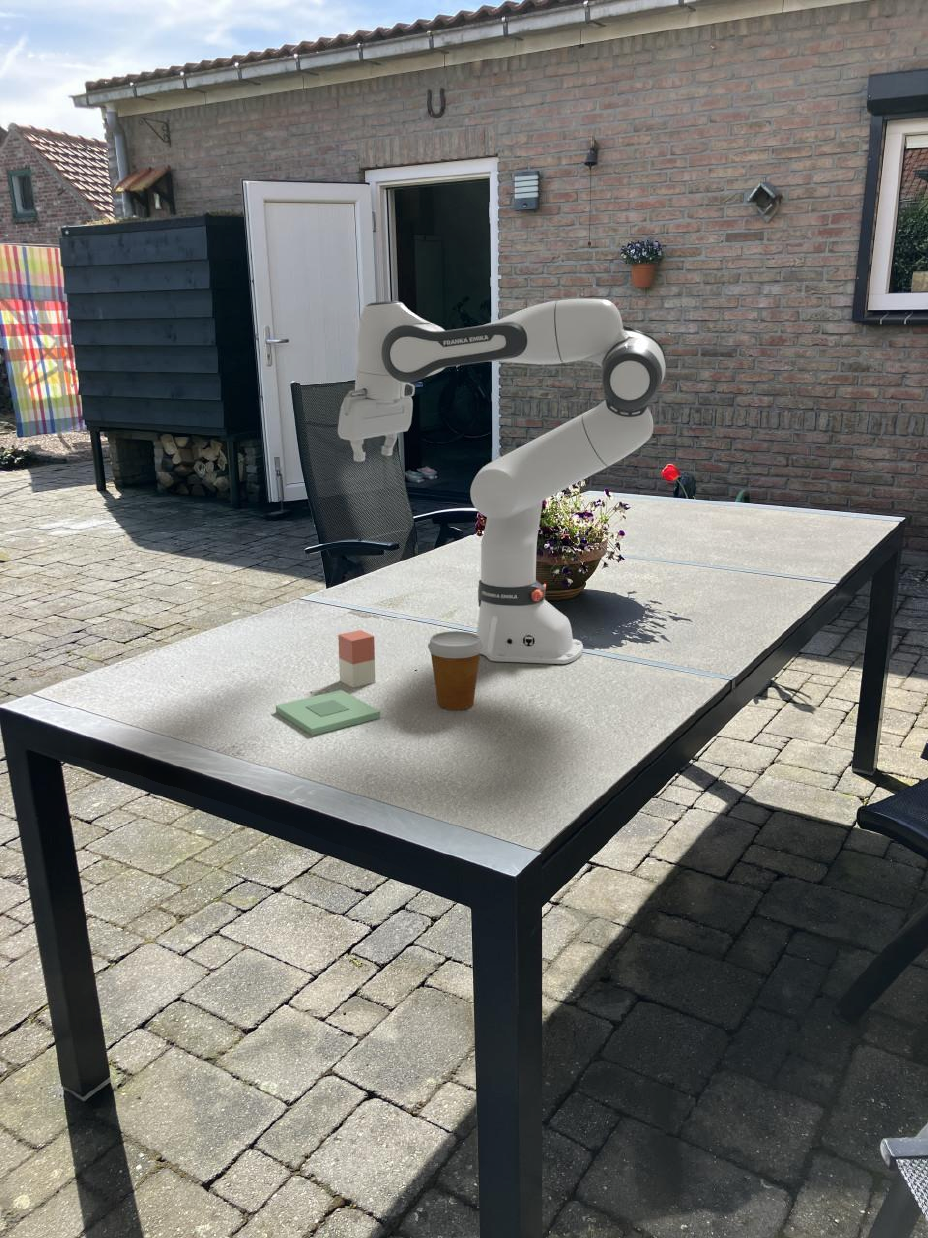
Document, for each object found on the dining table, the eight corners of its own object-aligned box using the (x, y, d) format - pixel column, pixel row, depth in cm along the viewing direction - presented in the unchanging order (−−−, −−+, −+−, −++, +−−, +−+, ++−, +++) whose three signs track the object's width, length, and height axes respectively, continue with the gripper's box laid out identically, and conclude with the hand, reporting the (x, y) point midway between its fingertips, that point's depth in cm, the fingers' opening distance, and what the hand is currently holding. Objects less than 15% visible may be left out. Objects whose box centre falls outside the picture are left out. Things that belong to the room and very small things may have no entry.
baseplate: (341, 695, 184) (341, 689, 183) (380, 718, 174) (380, 710, 173) (275, 712, 176) (275, 704, 176) (312, 736, 166) (312, 728, 166)
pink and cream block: (362, 675, 194) (360, 630, 192) (375, 682, 191) (374, 636, 188) (339, 680, 192) (338, 634, 189) (353, 687, 188) (351, 641, 185)
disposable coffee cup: (464, 717, 174) (464, 650, 171) (417, 706, 179) (417, 641, 175) (492, 700, 182) (493, 636, 178) (447, 690, 187) (447, 627, 183)
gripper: (359, 393, 188) (355, 467, 193) (419, 386, 205) (414, 454, 210) (331, 388, 191) (328, 461, 196) (393, 381, 208) (388, 449, 212)
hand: (373, 458), depth 203 cm, fingers open, 8 cm apart
